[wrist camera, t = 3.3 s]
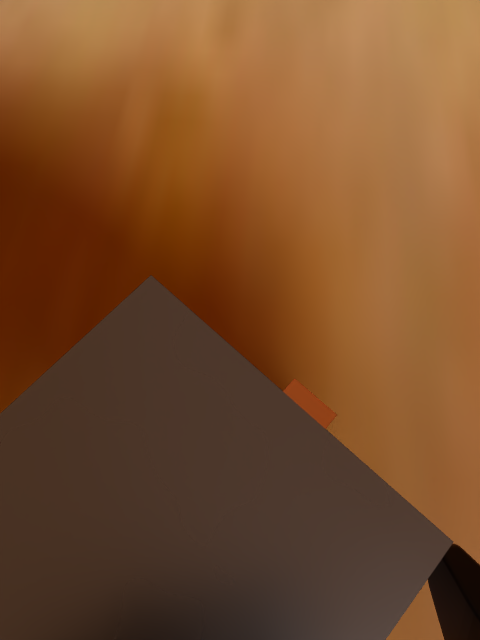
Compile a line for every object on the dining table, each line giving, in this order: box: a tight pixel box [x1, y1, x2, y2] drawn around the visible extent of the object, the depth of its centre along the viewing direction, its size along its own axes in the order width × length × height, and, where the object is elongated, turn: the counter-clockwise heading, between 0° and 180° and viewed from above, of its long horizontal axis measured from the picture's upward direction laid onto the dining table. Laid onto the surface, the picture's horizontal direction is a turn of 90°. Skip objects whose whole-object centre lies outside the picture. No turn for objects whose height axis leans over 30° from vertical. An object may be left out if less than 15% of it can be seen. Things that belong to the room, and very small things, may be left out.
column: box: [0, 276, 453, 640], centre depth 10 cm, size 4×4×12 cm
